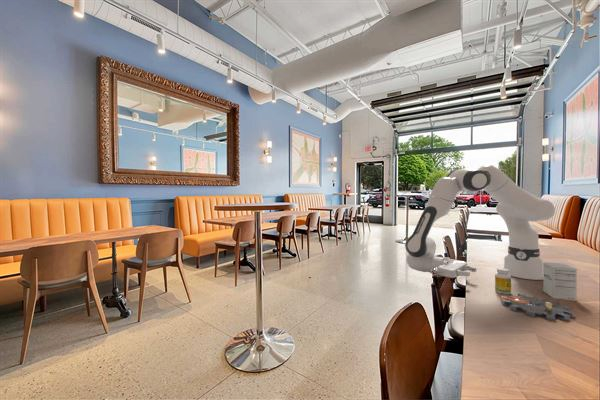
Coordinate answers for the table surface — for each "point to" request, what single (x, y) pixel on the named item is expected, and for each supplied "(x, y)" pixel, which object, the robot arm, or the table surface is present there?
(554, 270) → the supplement box
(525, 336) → the table surface
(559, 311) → the sprocket wheel
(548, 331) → the table surface
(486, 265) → the table surface
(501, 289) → the supplement bottle
